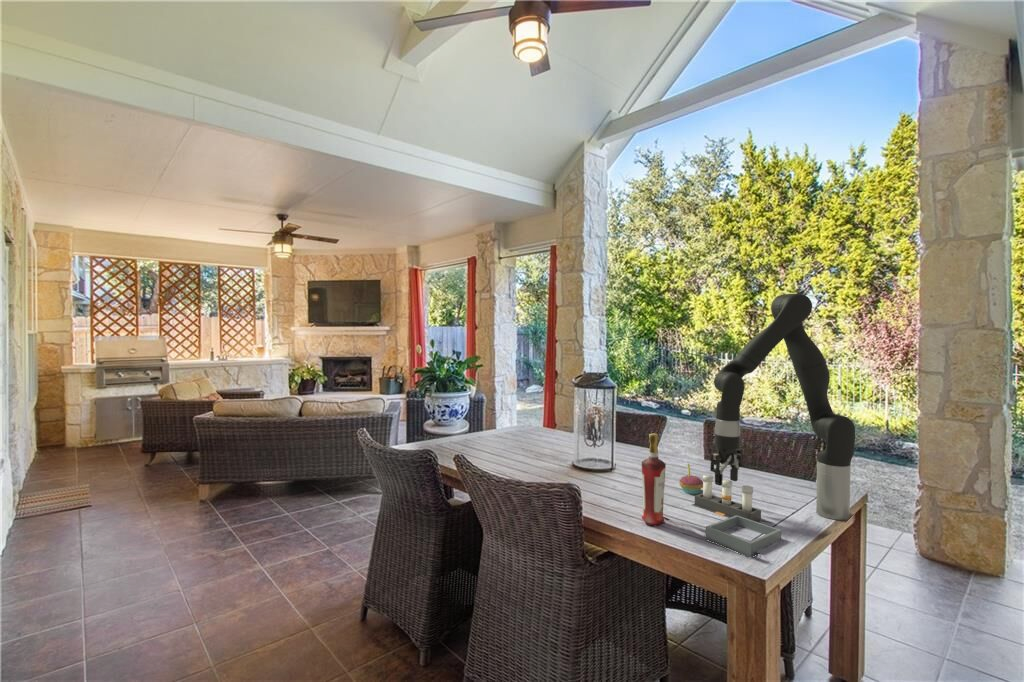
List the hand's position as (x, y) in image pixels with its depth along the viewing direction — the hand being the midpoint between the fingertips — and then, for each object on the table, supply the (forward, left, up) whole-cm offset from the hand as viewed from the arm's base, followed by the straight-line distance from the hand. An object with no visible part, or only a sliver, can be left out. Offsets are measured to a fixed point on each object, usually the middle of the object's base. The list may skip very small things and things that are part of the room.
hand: (726, 482), depth 161 cm
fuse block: (0, 0, -11) cm, 11 cm away
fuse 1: (0, -7, -10) cm, 12 cm away
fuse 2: (0, +7, -10) cm, 12 cm away
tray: (+14, +14, -11) cm, 23 cm away
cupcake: (-8, -19, -11) cm, 24 cm away
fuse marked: (0, 0, -10) cm, 10 cm away
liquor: (+24, -10, -11) cm, 28 cm away
